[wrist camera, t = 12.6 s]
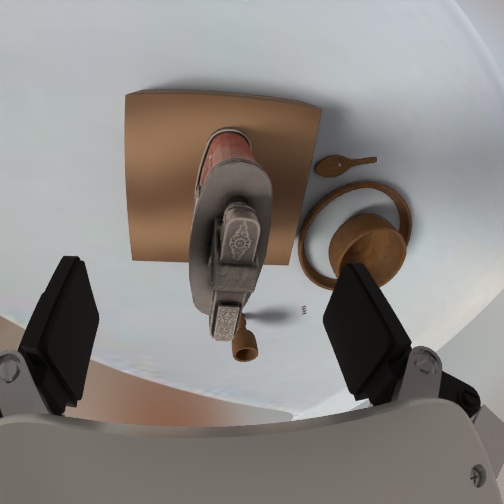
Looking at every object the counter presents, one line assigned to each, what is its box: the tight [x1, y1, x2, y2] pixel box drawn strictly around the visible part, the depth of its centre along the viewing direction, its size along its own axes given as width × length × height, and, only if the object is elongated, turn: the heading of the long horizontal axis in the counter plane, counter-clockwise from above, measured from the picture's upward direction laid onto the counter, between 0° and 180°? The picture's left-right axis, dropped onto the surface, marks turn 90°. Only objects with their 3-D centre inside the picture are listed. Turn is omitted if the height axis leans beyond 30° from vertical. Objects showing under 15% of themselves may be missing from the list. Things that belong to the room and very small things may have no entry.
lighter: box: [189, 127, 272, 342], centre depth 15 cm, size 8×3×10 cm, turn 169°
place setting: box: [232, 156, 412, 362], centre depth 26 cm, size 18×20×6 cm
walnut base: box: [125, 90, 322, 265], centre depth 21 cm, size 12×12×4 cm
